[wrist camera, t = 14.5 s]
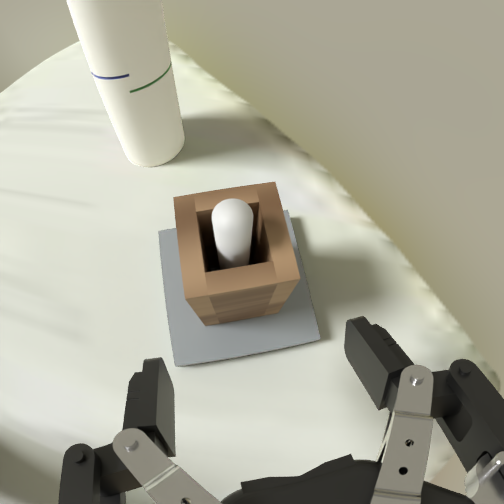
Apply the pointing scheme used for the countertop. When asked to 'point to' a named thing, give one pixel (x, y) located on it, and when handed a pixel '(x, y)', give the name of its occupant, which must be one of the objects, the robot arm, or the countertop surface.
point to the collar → (240, 278)
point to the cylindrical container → (133, 74)
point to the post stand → (242, 331)
